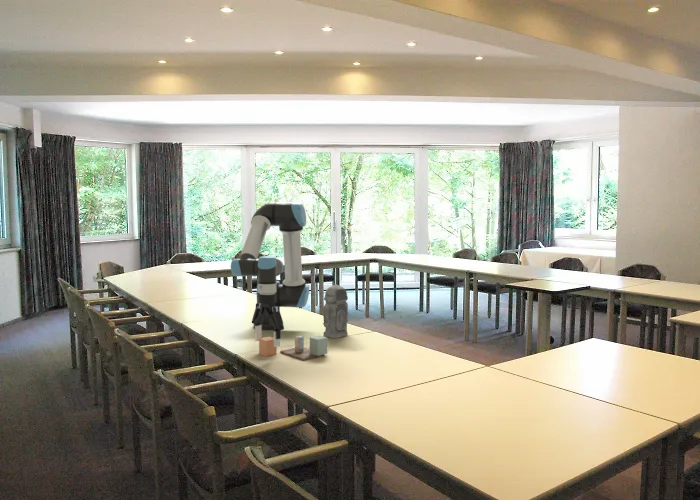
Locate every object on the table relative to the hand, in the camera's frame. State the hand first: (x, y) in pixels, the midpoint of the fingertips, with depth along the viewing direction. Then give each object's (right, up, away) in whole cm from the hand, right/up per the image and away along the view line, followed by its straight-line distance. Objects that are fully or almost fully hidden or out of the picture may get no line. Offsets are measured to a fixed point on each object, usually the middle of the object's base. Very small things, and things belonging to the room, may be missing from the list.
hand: (267, 343), depth 234 cm
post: (+13, -4, +2) cm, 14 cm away
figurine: (+27, -2, +34) cm, 44 cm away
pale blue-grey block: (+22, -5, -1) cm, 22 cm away
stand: (+15, -5, +1) cm, 15 cm away
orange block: (0, -5, +1) cm, 5 cm away
